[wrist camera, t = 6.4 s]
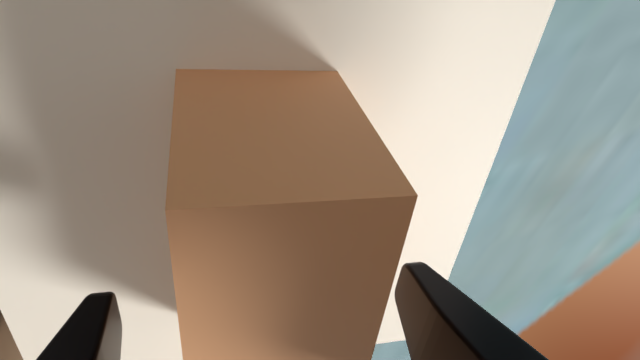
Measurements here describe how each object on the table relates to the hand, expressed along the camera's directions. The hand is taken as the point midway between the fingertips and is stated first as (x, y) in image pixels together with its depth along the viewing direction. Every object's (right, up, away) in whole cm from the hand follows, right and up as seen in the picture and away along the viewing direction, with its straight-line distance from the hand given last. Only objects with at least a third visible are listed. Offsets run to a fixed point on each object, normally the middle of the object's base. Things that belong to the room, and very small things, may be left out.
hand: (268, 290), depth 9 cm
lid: (-1, +2, +3) cm, 4 cm away
